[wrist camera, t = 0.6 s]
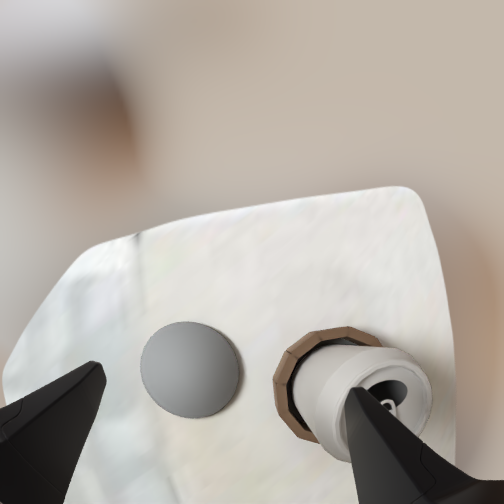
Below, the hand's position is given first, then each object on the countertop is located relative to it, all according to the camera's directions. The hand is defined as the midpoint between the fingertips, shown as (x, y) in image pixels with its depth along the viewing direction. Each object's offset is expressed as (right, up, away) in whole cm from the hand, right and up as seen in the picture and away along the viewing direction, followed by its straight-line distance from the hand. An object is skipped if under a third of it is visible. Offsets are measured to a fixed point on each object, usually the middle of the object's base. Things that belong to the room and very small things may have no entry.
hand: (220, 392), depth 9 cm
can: (+8, -7, +14) cm, 18 cm away
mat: (-5, -6, +14) cm, 16 cm away
